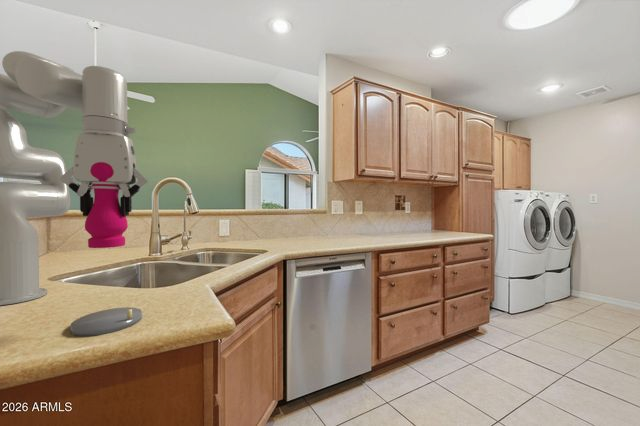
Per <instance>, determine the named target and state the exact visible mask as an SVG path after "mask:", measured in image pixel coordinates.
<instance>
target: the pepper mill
mask: <svg viewBox="0 0 640 426" xmlns="http://www.w3.org/2000/svg"><path fill="white" fill-rule="evenodd" d="M90 173H91V175H92V176H94V177H95V178H97V179H98V180H99V181H97V182H92V183H91V184H92V187H91V188H92V190H93V194H94V197H93V207H92V209H91V211H90V213H89V214H88V216H86V219H85V220H84V221H85V222H84V230H85V231H86V233H88V234H89V235H91V237H90V238H88V239H87V248H90V249H106V248H107V249H110V248H118V247H124V246H126V237H125V236H123V234H124V232H125V231H127V229H128V227H129V225H128V224H129V223H128V219H127V217H126V216H122V215H121V206H120V202H119V201H120V200H119V194H120V193H119V192H120V190H121V188H120V186H119V184H118V183H113V182H107V179H109V178H111V177H112V176H113V174H114V171H113V168H112V167H111V165H109V164H107V163H104V162H97V163H95V164H93V165H92V166H91V170H90Z"/></svg>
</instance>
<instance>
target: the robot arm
mask: <svg viewBox="0 0 640 426" xmlns="http://www.w3.org/2000/svg"><path fill="white" fill-rule="evenodd" d="M1 64H2V68H3V70H4V73H5V74H6V75H5V74H3V73H2V74H1V73H0V178H3V179H15V180H26V181H38V182H39V183H32V182H31V183H30V182H19V181H18V182H17V181H0V306H5V305H11V304H18V303H23V302H28V301H32V300H35V299H39V298H41V297H44V296H45V295H47V294H48V289H47V288H44V287H43V288H42V287H40V257H39V256H40V253H39V252H40V246H39V244H40V243H39V233H38V230H37V228H36V227H35V226H34V225H33V224H32V223H31V222H30V221H28V219H26V218H40V217H41V218H43V217H44V218H45V217H46V218H47V217H48V218H49V217H61V216H64V215H65V214H67V213H68V212H69V211H70V207H71V195H70V189H71V190H72V192H74V193H75V194H76V195H77V196H78V197H79V211H80V212H81V213H82V216H83V217H87V216H88V214H89V213H90V211H91V209H92V207H93V203H94V197H93V196H92V195H91V194H92V191H93V189H92V188H91V187H92V184H91V183H92V182H97V181H99V180H98V179H97V178H95V177H94V176H92V175H91V173H90V170H91V166H92V165H93V164H95V163H97V162H104V163H107V164H109V165H111V167H112V168H113V171H114V174H113V176H112V177H111V178H109V179H107V182H113V183H118V184H119V186H120V188H121V189H120V190H121V192H122V196H121V197H120V200H119V201H120V202H119V204H120V207H121V215H122V216H129V215H130V213H132V210H133V209H132V203H133V202H132V198H133V197H134V196H135V195H136V194H137V193H138V192H139V191H141V189H143V188H144V187H145V186H146V185H148V184H149V183H150V181H149V179H147V178H146V177H145V176H144V175H143V174H142V173H141V172H140V171H139V170H138V169H137V159H136V152H135V148H134V142H133V139H132V138H129V137H130V135H131V134H133V135H135V134H136V128H135V127H133V126H130V125H128V83H127V80H126V78H125V77H124V75H123V74H121V73H120V72H118V71H116V70H114V69H111V68H109V67H105V66H102V65H101V66H99V65H89V66H86V67H85V68H83V70H82V71H81V74H80V73H77V72H76V71H74V69H71V68H69V67H67V66H65V65H62V64H60V63H57V62H56V61H52V60H50V59H47V58H44V57H41V56H40V55H36V54H34V53H32V52H29V51H28V52H27V51H20V50H18V51H17V50H16V51H15V50H14V51H11V52H9V53H7V54H5V55H4V57H3V58H2V61H1ZM67 108H69V109H73V110H77V111H80V112H82V132H79V133H78V135H77V139H76V143H75V149H74V156H73V166H72V167H70V168H69V169H68V170H67V168H66V162H65V161H64V159H63V157H62V156H61V154H59V153H57V152H56V151H54V150H50V149H45V148H41V147H40V148H39V147H33V146H31V145H29V143H28V137H27V131H26V129H25V127H24V126H23V125H22V124H21V122H20V121H19V120H18V119H17V118H16V117H15V116H13V115H12V114H11V112H9V111H8V110H13V111H14V112H15V111H16V112H19V113H20V112H21V113H23V114H24V113H25V114H29V115H32V116H37V117H38V116H39V117H42V118H47V119H49V118H50V119H52V118H56V117H57V116H59V115H60V114H61V113H62V112H64V110H65V109H67ZM7 109H8V110H7ZM76 181H77V182H80V184H79V183H77V182H76ZM131 185H132V186H131ZM69 188H70V189H69Z"/></svg>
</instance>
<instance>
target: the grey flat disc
mask: <svg viewBox="0 0 640 426" xmlns="http://www.w3.org/2000/svg"><path fill="white" fill-rule="evenodd" d="M142 318H143V311H142V309H140V308H136V307H130V306H129V307H127V306H126V307H116V308H109V309H104V310H100V311H94V312H93V313H89V314H86V315H83V316H80V317H79V318H77V319H75V320H73V321H72V322H71V324H70V333H71V335H74V336H77V337H78V336H79V337H93V336H100V335H105V334H106V335H107V334H110V333H115V332H119V331H122V330H124V329H127V328H129V327H132V326H134V325H136V324H137V323H139V322H140V321H141V320H142Z"/></svg>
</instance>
